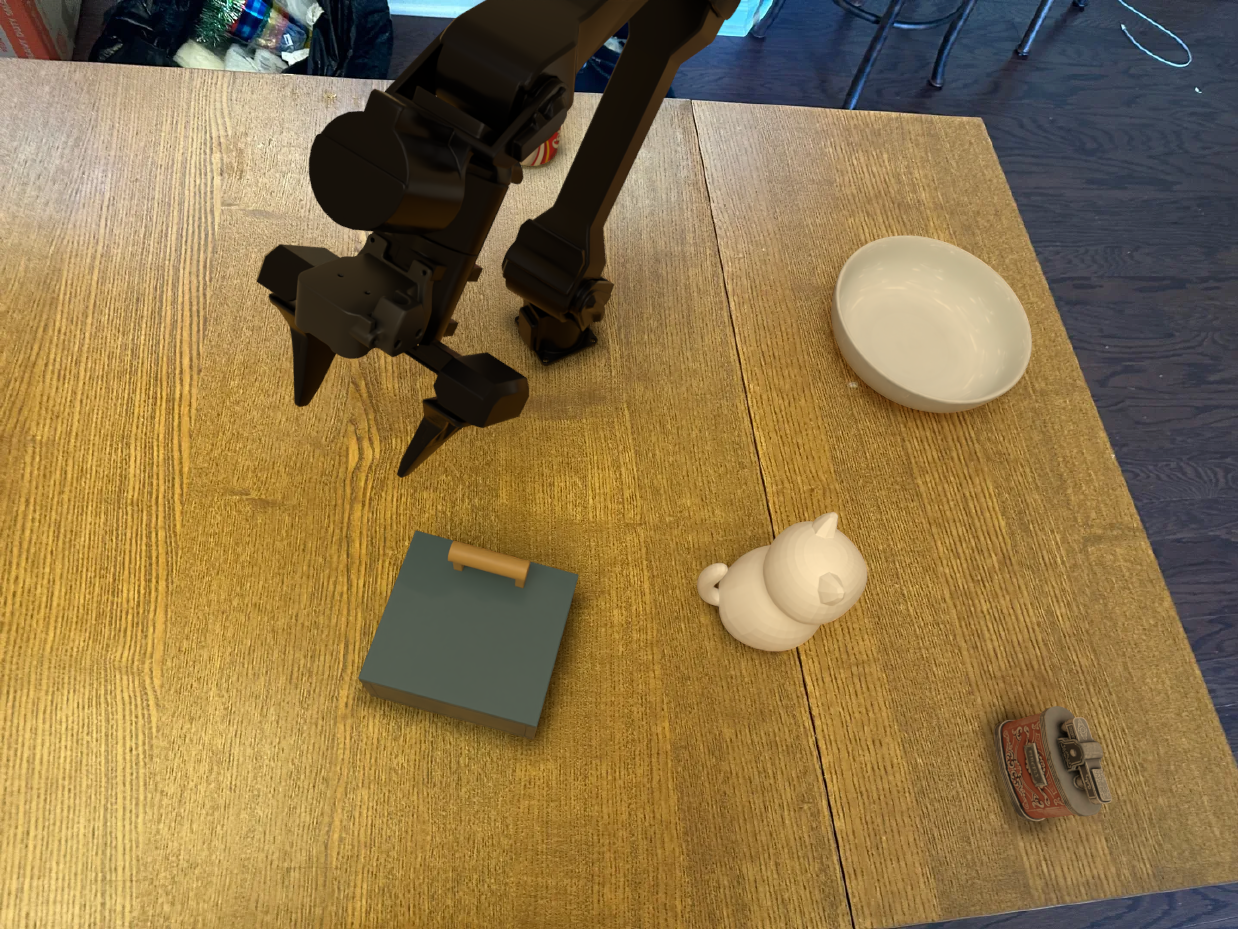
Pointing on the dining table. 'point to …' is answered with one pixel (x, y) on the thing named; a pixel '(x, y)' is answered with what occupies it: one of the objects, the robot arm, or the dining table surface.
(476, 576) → the chest lid
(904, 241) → the serving bowl
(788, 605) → the cat figurine
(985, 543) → the dining table surface
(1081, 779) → the lighter
